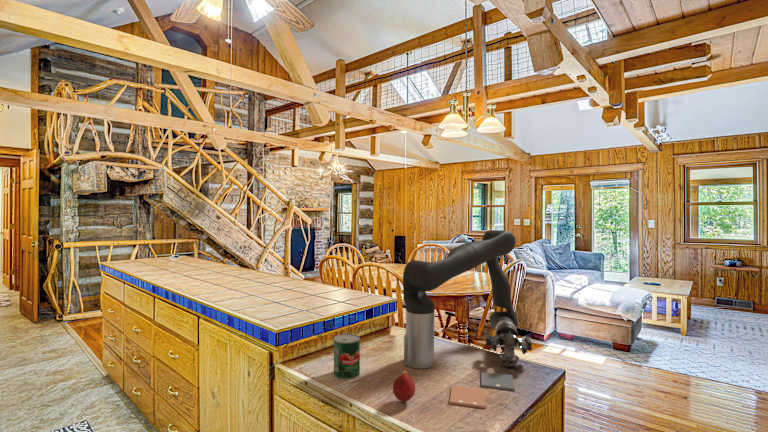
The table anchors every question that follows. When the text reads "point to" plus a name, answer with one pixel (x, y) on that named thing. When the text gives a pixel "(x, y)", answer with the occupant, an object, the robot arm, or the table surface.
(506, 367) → the salt shaker
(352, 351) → the canned tomato
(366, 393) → the table surface
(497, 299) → the robot arm
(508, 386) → the tile one
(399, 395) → the onion
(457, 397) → the tile two
